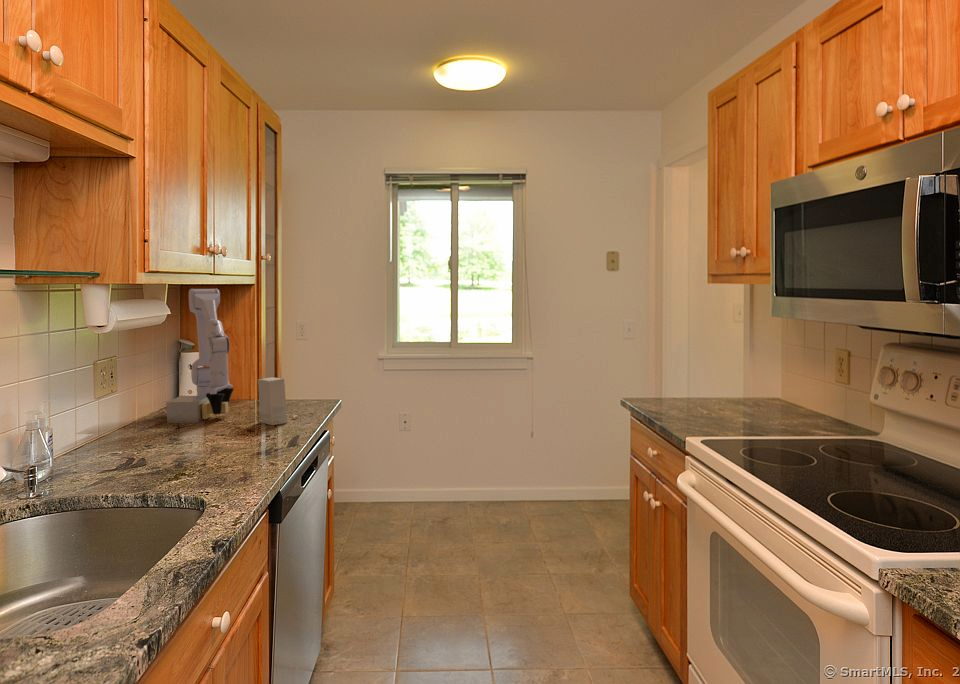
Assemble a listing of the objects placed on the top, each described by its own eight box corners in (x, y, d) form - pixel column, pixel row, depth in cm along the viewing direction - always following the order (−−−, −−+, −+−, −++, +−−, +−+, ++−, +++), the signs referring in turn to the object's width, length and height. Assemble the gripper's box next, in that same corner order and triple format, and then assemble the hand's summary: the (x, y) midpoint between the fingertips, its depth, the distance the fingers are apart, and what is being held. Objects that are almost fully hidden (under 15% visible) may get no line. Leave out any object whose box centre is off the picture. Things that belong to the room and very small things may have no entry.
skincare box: (287, 423, 216) (286, 378, 215) (270, 426, 212) (268, 380, 211) (275, 419, 222) (274, 376, 221) (258, 422, 218) (257, 378, 217)
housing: (181, 415, 229) (180, 395, 228) (210, 415, 230) (210, 395, 229) (167, 423, 217) (166, 402, 217) (198, 422, 218) (197, 401, 217)
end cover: (185, 415, 226) (184, 401, 226) (230, 415, 227) (229, 401, 227) (178, 419, 220) (177, 404, 220) (224, 418, 221) (223, 404, 221)
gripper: (224, 375, 216) (225, 415, 217) (237, 369, 230) (239, 407, 231) (202, 375, 215) (204, 416, 216) (217, 369, 230) (218, 407, 231)
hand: (220, 411), depth 224 cm, fingers open, 7 cm apart
